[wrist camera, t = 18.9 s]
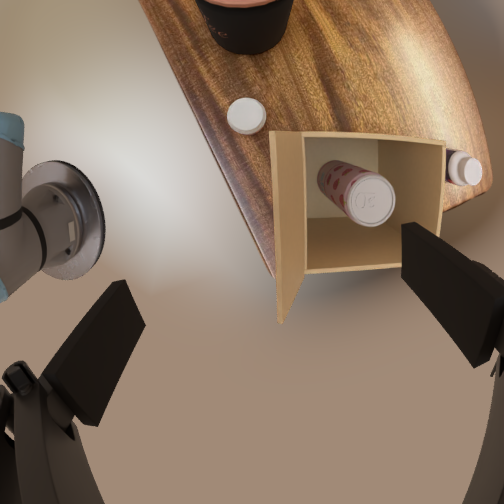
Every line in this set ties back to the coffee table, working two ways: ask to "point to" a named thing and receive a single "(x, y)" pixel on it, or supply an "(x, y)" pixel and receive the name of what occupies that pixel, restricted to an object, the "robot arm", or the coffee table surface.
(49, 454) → the robot arm
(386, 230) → the carton
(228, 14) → the coffee jar
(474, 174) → the pill bottle
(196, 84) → the coffee table surface
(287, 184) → the flap
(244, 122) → the pill bottle
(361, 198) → the beverage can
